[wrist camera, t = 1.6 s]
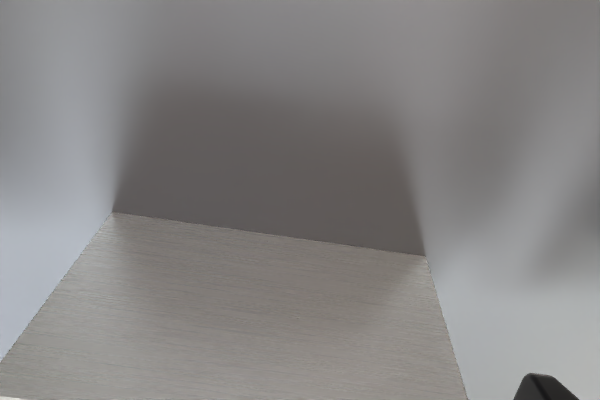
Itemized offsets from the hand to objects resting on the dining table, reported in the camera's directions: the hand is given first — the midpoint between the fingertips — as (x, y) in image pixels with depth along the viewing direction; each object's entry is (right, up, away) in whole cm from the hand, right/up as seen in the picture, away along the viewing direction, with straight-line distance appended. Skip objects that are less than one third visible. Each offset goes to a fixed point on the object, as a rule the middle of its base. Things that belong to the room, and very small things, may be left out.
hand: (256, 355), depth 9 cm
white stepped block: (0, 0, +2) cm, 2 cm away
